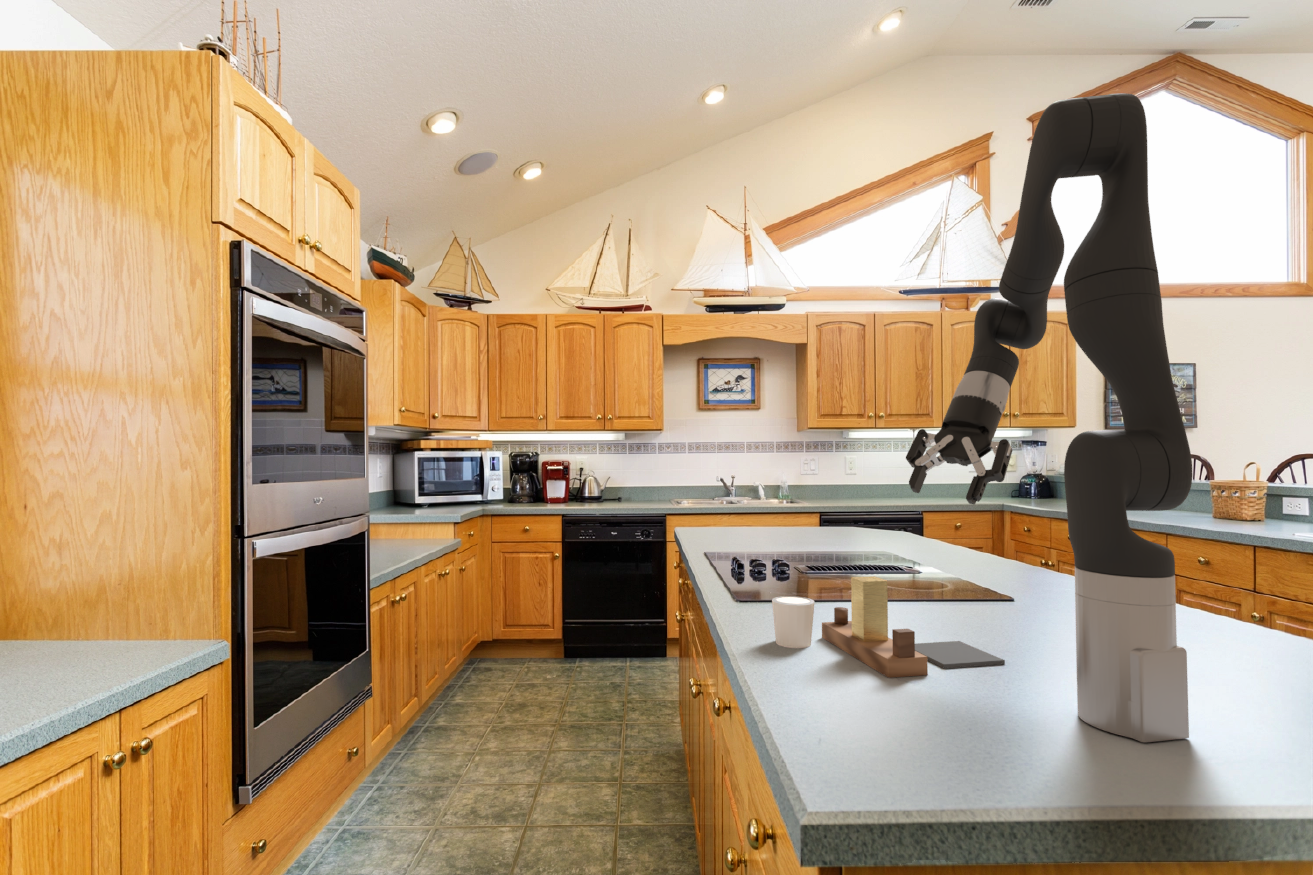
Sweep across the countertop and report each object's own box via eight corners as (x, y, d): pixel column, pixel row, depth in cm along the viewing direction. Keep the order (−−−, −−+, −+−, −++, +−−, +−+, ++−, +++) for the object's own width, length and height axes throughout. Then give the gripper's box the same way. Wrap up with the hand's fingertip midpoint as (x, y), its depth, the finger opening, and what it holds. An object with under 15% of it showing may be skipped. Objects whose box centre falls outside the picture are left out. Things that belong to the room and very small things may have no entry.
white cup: (819, 649, 99) (819, 604, 100) (775, 649, 100) (775, 604, 100) (809, 637, 106) (809, 595, 106) (768, 636, 106) (768, 595, 107)
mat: (1004, 664, 92) (1004, 660, 92) (943, 668, 90) (943, 664, 90) (959, 644, 102) (959, 640, 102) (903, 648, 100) (903, 644, 100)
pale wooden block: (887, 640, 96) (887, 580, 96) (863, 641, 95) (863, 581, 95) (875, 634, 99) (874, 576, 99) (851, 635, 98) (851, 577, 99)
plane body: (927, 674, 88) (927, 631, 88) (888, 677, 86) (887, 633, 87) (854, 635, 107) (854, 599, 108) (821, 637, 106) (821, 601, 106)
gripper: (924, 390, 103) (888, 476, 99) (1019, 397, 92) (983, 493, 88) (939, 415, 107) (905, 498, 103) (1031, 424, 97) (997, 517, 92)
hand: (941, 496), depth 96 cm, fingers open, 8 cm apart
